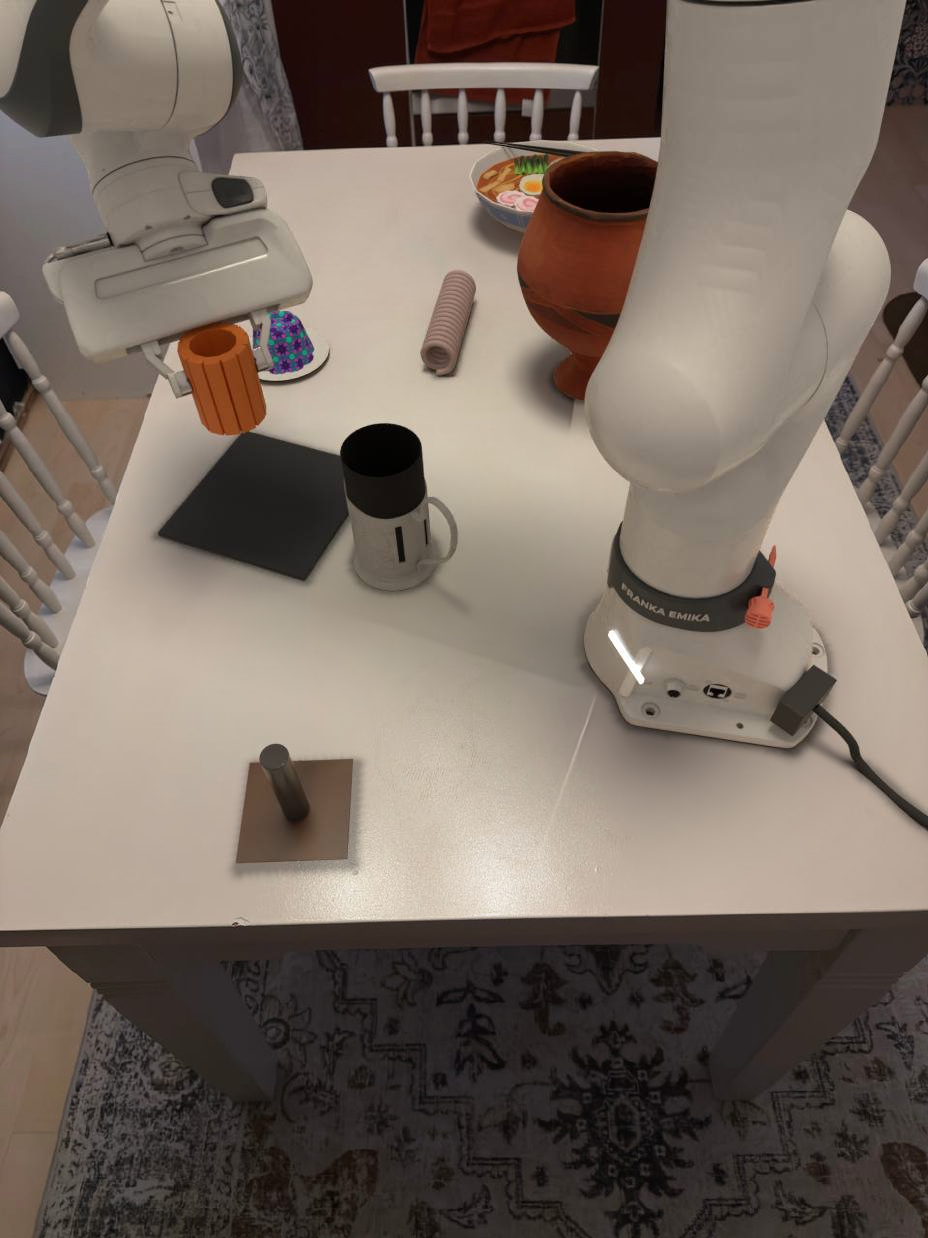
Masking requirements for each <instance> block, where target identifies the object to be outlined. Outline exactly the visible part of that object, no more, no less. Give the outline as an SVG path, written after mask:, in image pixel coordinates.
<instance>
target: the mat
mask: <svg viewBox="0 0 928 1238" xmlns="http://www.w3.org/2000/svg"><path fill="white" fill-rule="evenodd" d="M348 517H349V511H348V506H347V501H346V495H345V488H344V474H343V469H342V463H341V458H340V454H335V453H332V452H328V451H325V450H324V451H323V450H320V449H316V448H313V447H309V446H305V445H301V444H298V443H295V442H294V443H293V442H291V441H286V440H283V439H280V438H275V437H272V436H268V435H264V434H260V433H257V432H254V431H253V432H252V431H248V432H246V433H244V434H243V433H242V432H241V434H239V435H238V437H236V439H235V440H234V441H233V442H232V443H231V445H230V446H229V447H228V448H227V450H226V451H225V452H224V453H223V454H222V455H221V457H220V458H218V460H217V461H216V462H215V464H214V465H213V466H212V467H211V468H210V470H209V471H208V472H207V473H206V475H205V476H204V477H203V478H202V479H201V481H199V483H198V484H197V485H196V486H195V488H194V489H193V490H192V491H191V492H190V493H189V495H188V496H186V498H185V500H184V501H182V503H181V504H180V505H179V506H178V508H177V509H175V511H174V513H172V515H171V516H170V517H169V518H168V519H167V521H166V522H165V523H164V524H163V525H162V527H161V528H160V529H159V531H158V532H157V534H158V536H160V537H162V538H166V539H169V540H173V541H175V542H178V543H182V544H184V545H188V546H191V547H194V548H198V549H201V550H204V551H207V552H210V553H213V554H214V553H215V554H217V555H220V556H224V557H227V558H230V559H233V560H236V561H240V562H243V563H246V564H249V565H252V566H256V567H259V568H262V569H265V570H269V571H272V572H275V573H278V574H282V575H285V576H288V577H291V578H294V579H297V580H301V581H303V582H305V581H306V579H307V578H308V576H309V575H310V573H311V572H312V570H313V569H314V567H315V566H316V564H317V563H318V561H319V560H320V558H321V557H322V555H323V554H324V552H325V551H326V549H327V548H328V546H329V545H330V543H331V542H332V540H333V539H334V537H335V536H336V534H337V533H338V531H339V530H340V528H341V527H342V525H343V524H344V523H345V521H346V519H347V518H348Z"/></svg>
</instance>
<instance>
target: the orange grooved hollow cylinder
mask: <svg viewBox="0 0 928 1238" xmlns="http://www.w3.org/2000/svg"><path fill="white" fill-rule="evenodd" d="M249 338H250V336H249V334H248V332H247V331H246V330H244V328H242V326H240V325H238V324H231V323H227V322H224V323H223V324H222V322H215V323H211V324H208V325H206V326H205V325H204V326H201V327H198V328H194V329H191V330H190V332H189V331H187V332H186V333H185V334H184V335H183V336H182V337H181V338H180V339H179V341H177V349H176V352H177V355H178V357H179V361H180V363H181V367H182V369H183V370H184V372H185V373H186V375H187V377H188V379H187V381H188V382H189V383H190V385H191V387H192V390H193V393H192V394H191V396H192V399H193V402H194V406H195V407H196V408H195V409H196V411H197V413H198V417H199V420H200V422H201V425H202V426H203V427H204V428H205V429H206V430H207V431H208V432H210V433H211V434H214V435H219V436H222V437H223V436H226V437H228V436H230V437H231V436H237V435H238V436H239V435H240V434H241V433H243V434H244V433H246V432H248V431H249V432H251V431H252V430H255V429H256V428H257V427H258V426H260V425H261V424H262V422H263V421H264V420H265V419H266V416H267V403H266V399H265V396H264V392H263V391H264V390H263V388H262V383H261V379H259V375H258V372H257V368H256V364H255V360H254V356H253V352H252V348H251V344H250V340H249ZM183 370H182V371H183Z"/></svg>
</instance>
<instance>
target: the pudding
mask: <svg viewBox="0 0 928 1238" xmlns="http://www.w3.org/2000/svg"><path fill="white" fill-rule="evenodd" d="M269 317H270V320H271V326H270V333H269V340H268V345H267V347H268V350H269V352H270V355H271V357H272V360H273V364H274V367H273V368H272V369H269V370H266V371H263V372H259V373H258V375H259V379H260V380H264V381H270V382H272V381H273V382H275V381H277V382H278V381H280V382H281V381H288V380H293V379H298V378H300V377H303V376H305V375H308V374H310V373H312V372H313V371H315V370H316V369H318V368H319V367H320V366H321V365H322V364H323V363H324V362H325V361H326V360H327V358H328V355H329V352H330V346H329V343H328V340H327V339H326V337H325V336H324V334H321V333H320V332H319V331H318V330H316V329H313V328H310V327H308V326H304V324H303V323H302V320H301V319H300V318H299V317H298V316H297V315H295V314H294V313H292V312H291V311H289V310H280V311H276V312H273V313H270V314H269ZM259 337H260V329H259V330H258V331H254V330H253V329H252V335H251V336H249V340H250V344H251V348H252V349H255V348H258V345H259Z"/></svg>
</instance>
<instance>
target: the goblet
mask: <svg viewBox="0 0 928 1238" xmlns="http://www.w3.org/2000/svg"><path fill="white" fill-rule="evenodd" d="M657 166H658V160H655V159H653V158H651V157H649V156H646V155H644V154H642V153H639V152H636V151H618V150H603V151H602V150H601V151H600V150H599V151H593V152H584V153H580V154H576V155H572V156H569V157H565V158H563V159H561V160H559V161H557V162H555V163H553V164H552V165H551V166H549V167H548V168H547V169H546V171H545V173H544V176H543V179H542V187H543V189H542V192H541V194H540V197H539V200H538V203H537V205H536V207H535V210H534V212H533V214H532V216H531V219H530V221H529V223H528V225H527V228H526V230H525V233H523V236H522V238H521V242H520V244H519V250H518V255H517V262H516V273H517V279H518V283H519V287H520V291H521V295H522V297H523V300H524V302H525V305H526V308H527V310H528V312H529V314H530V316H531V317H532V318H533V320H534V321H535V323H536V324H537V325H538V326H539V328H540V329H541V330H543V332H544V333H545V334H546V335H547V336H548V337H550V339H552V340H554V341H555V342H556V343H558V344H559V345H560V346H562V347H564V348H566V350H568V351H569V353H570V354H569V355H568V356H566V357H565V358H564V359H563V360H562V361H561V362H560V363H559V364H558V365H557V367H556V368H555V370H554V373H553V381H554V384H555V386H556V388H557V389H558V391H560V392H562V393H563V394H564V395H566V396H568V397H569V398H571V399H574V400H576V401H581V402H585V393H586V388H587V385H588V382H589V380H590V377H591V375H592V374H593V372H594V370H595V368H596V366H597V365H598V363H599V361H600V359H601V357H602V356H603V354H604V352H605V350H606V348H607V346H608V344H609V342H610V339H611V337H612V335H613V332H614V330H615V328H616V325H617V323H618V320H619V317H620V314H621V311H622V308H623V305H624V302H625V298H626V295H627V291H628V288H629V284H630V281H631V277H632V274H633V270H634V266H635V263H636V259H637V255H638V251H639V247H640V243H641V240H642V236H643V232H644V228H645V224H646V220H647V215H648V211H649V207H650V202H651V198H652V193H653V189H654V184H655V178H656V172H657Z"/></svg>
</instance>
